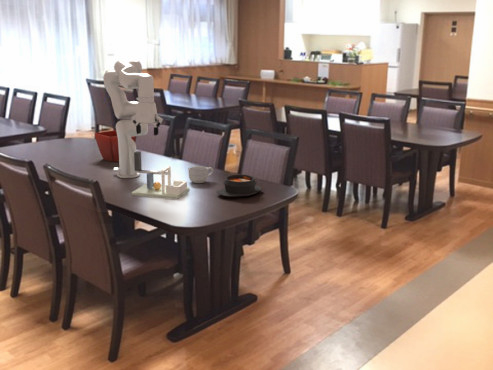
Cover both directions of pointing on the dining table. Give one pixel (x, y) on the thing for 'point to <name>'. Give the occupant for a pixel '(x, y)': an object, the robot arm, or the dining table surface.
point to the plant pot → (109, 145)
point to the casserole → (239, 186)
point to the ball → (157, 185)
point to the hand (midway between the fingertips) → (147, 134)
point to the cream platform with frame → (164, 188)
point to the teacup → (199, 174)
